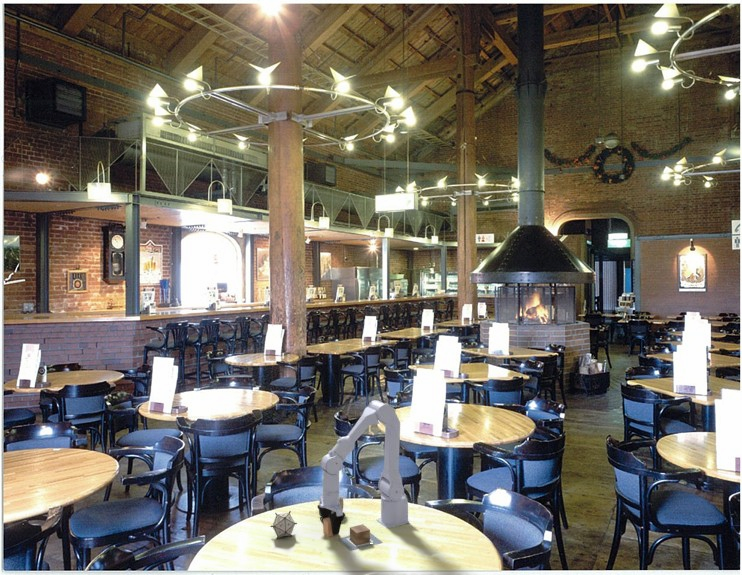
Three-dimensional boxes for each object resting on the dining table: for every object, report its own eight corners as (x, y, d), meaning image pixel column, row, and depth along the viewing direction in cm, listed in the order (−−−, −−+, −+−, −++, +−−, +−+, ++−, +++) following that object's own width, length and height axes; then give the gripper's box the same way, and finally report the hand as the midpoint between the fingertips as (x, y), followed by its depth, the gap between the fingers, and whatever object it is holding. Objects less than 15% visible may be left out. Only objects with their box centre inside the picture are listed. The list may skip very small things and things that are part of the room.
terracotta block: (333, 530, 191) (333, 516, 191) (338, 535, 188) (338, 520, 188) (323, 533, 189) (323, 518, 189) (328, 537, 186) (328, 522, 186)
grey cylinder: (340, 520, 200) (340, 499, 200) (318, 519, 201) (318, 498, 201) (345, 509, 210) (345, 489, 210) (324, 508, 211) (324, 488, 211)
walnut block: (362, 536, 186) (362, 524, 186) (370, 541, 182) (370, 529, 182) (349, 539, 183) (349, 527, 184) (356, 545, 179) (356, 532, 179)
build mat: (368, 532, 190) (368, 531, 190) (382, 543, 181) (382, 542, 181) (337, 539, 184) (337, 538, 184) (350, 551, 175) (350, 550, 175)
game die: (286, 549, 185) (290, 533, 179) (264, 538, 186) (267, 522, 181) (299, 527, 192) (302, 511, 186) (277, 517, 194) (280, 500, 188)
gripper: (312, 485, 193) (312, 524, 193) (329, 499, 180) (329, 540, 180) (330, 482, 196) (330, 520, 196) (348, 495, 184) (348, 535, 183)
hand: (331, 529), depth 188 cm, fingers open, 7 cm apart
